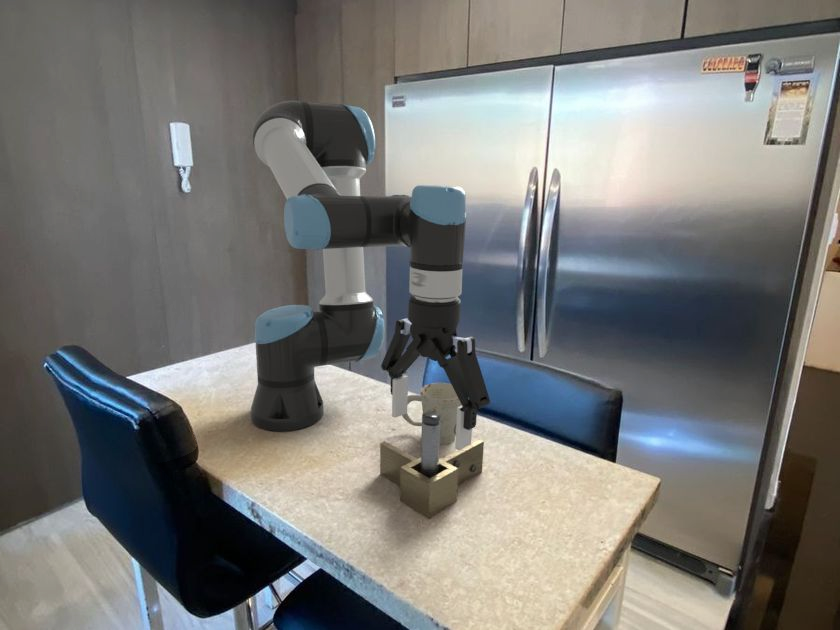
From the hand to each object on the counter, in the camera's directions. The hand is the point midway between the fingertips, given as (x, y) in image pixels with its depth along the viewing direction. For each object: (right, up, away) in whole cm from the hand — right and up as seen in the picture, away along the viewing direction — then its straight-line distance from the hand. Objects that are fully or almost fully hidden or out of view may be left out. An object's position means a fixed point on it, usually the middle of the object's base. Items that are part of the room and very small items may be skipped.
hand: (429, 429), depth 80 cm
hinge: (+1, -11, +9) cm, 14 cm away
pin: (0, -12, +3) cm, 12 cm away
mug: (+1, -7, +24) cm, 25 cm away
